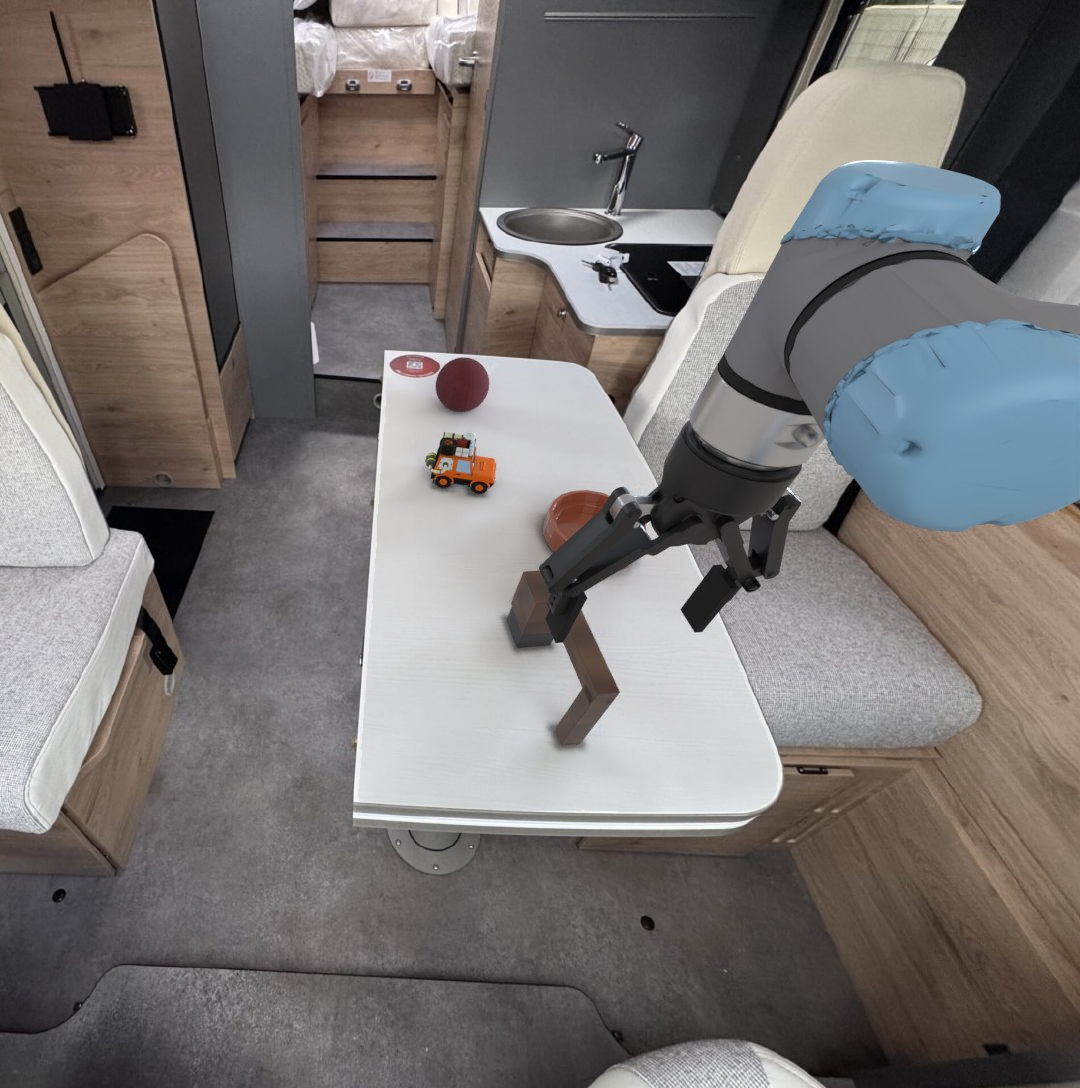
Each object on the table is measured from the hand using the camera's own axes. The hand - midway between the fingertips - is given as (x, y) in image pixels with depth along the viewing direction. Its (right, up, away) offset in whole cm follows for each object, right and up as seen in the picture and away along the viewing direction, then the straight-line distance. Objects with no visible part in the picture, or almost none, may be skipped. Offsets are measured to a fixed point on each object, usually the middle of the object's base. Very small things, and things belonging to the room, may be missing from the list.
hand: (623, 625), depth 54 cm
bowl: (+11, +8, +35) cm, 38 cm away
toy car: (-8, +19, +44) cm, 48 cm away
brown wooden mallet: (-1, -9, +18) cm, 20 cm away
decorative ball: (-5, +34, +58) cm, 68 cm away
